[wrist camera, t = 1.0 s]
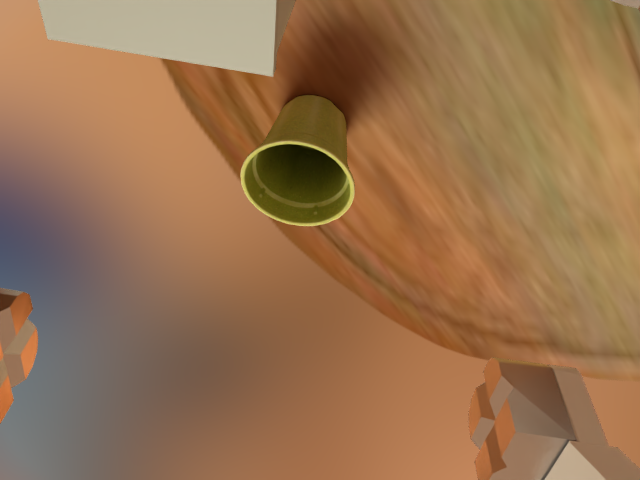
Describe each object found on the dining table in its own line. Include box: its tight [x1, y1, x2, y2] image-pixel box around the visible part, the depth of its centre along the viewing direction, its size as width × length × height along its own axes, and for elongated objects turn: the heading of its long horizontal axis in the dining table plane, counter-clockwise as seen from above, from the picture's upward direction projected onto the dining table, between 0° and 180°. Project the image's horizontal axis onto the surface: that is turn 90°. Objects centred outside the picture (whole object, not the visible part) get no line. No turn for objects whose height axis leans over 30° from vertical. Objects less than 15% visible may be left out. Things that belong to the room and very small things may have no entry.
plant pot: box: [241, 95, 355, 226], centre depth 53 cm, size 9×9×9 cm
